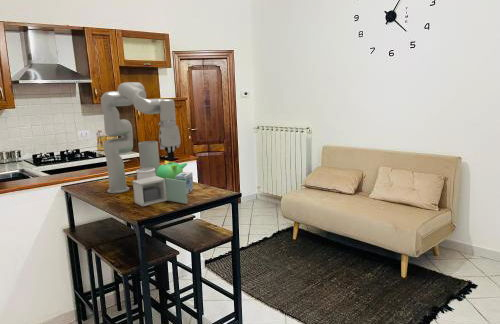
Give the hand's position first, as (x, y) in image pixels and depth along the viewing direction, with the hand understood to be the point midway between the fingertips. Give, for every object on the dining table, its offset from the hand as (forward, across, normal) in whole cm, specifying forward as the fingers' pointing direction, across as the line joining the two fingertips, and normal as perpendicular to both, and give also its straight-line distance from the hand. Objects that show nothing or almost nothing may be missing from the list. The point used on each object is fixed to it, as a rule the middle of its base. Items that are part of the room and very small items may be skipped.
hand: (170, 159), depth 193 cm
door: (+23, +2, 0) cm, 23 cm away
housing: (+24, -7, +12) cm, 28 cm away
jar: (+24, -2, +26) cm, 36 cm away
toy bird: (+24, +20, +39) cm, 50 cm away
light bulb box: (+24, +16, +15) cm, 32 cm away
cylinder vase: (+24, +18, +62) cm, 69 cm away
